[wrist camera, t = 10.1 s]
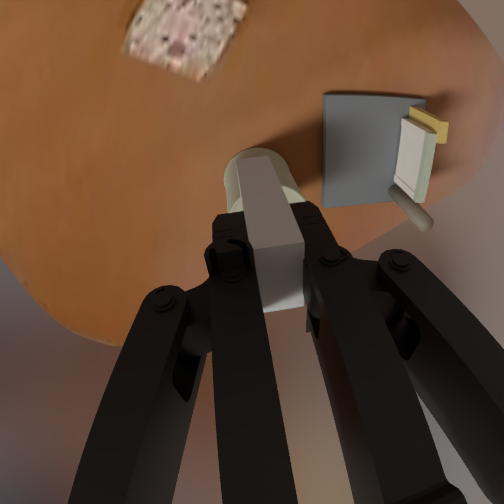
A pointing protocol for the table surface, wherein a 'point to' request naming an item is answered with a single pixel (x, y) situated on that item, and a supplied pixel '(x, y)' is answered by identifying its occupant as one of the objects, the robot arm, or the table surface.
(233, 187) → the can
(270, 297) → the robot arm
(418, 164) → the white framed panel
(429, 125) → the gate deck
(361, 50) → the table surface
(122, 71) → the table surface
